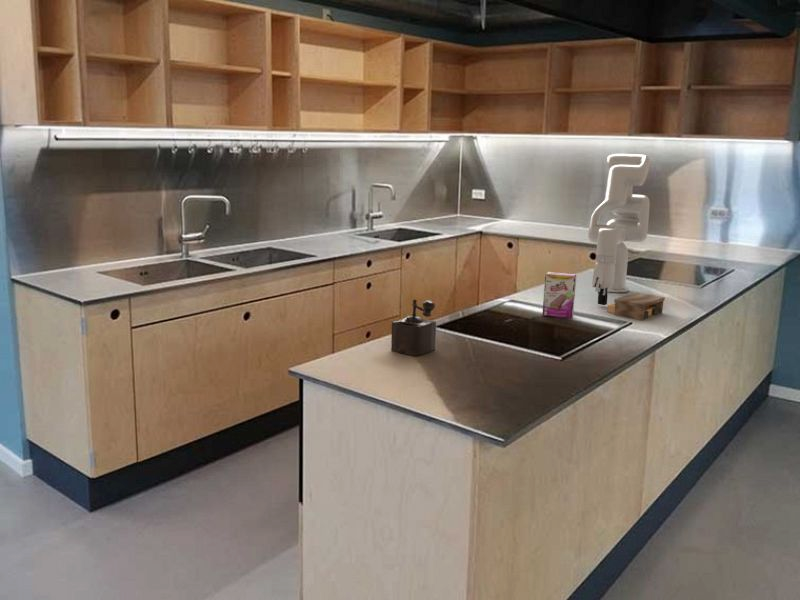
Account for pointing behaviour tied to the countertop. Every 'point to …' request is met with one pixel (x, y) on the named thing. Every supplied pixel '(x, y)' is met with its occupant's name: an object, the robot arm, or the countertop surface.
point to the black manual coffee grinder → (414, 332)
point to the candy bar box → (559, 295)
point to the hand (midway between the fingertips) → (602, 304)
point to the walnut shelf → (638, 305)
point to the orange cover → (648, 308)
